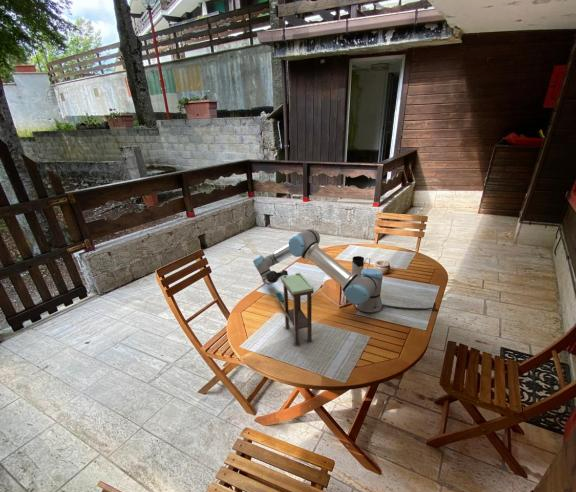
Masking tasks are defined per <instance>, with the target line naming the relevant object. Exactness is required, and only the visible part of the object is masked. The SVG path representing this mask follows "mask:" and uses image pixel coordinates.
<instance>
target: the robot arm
mask: <svg viewBox="0 0 576 492" xmlns="http://www.w3.org/2000/svg"><path fill="white" fill-rule="evenodd" d="M320 242H321V236H320V233H319V232H318V231H317V230H316V229H314V228H306V229H304V230H303V231H301V232H299V233H295V234H294V235H292V236H291V237H290V238H289V240H288V243H287V244H286V245H284V246H282V247H281V248H279V249H277V250H275V251H274V252H272V253H271V254H268V255H266V256H263V255H259V256H257V257H256V258H254V259H253V261H252V262H253V265H254V267H255V269H256V270H257V271H258V273H259V275H260V278H261V281H262V283H263V284H264V285H266V286H269V285H270V286H271V285H273V284H274V283H277V282H278V281H279V279H281V276H284V275H286V276H289V273H288V270H286V269H282V271H275V270H272V269H271V267H273V266H275V265H277V264H279V263H281V262H282V261H284V260H287V259H288V258H290V257H292V256H294V257H296V258H302V259H303V260H305V261H308V260H309V261H310V262H311V263H313V264H314V265H315V266H316V267H317V268H319V269H320V270H321V271H322V272H323V273H324V274H326V275H327V276H329V277H330V279H332V280H333V281H334V282H336V283H337V284H338V285H339V286H341V291H342V293H343V292H344V296H345V299H346V301H348V303H350V304H352V305H354V307H355V308H356V309H357V310H358V311H360V312H363V313H366V314H374V313H378V312H380V311H381V310H382V308H383V307H386V308H393V309H399V310H409V311H410V310H415V311H429V310H434V311H436V312H438V311H439V310H438V309H437V308H436V307H404V306H394V305H389V304H383V302H382V301H383V300H382V298H381V292H382V283H383V279H384V277H383V275H384V273H383V271H381V270H379V269H377V268H373V267H372V268H370V267H368V268H367V267H366V268H363V270H362V272H361V277H360V276H358V275H357V274H351V272H350V271H349V270H348V269H347V268H345V267H344V266H342V265H341V264H340V263H339V262H338V261H336V260H335V259H334V258H333V257H331V256H330V255H329V254H328V253H326V251H324V250H323V249H321V248H320V246H319V244H320Z"/></svg>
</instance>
